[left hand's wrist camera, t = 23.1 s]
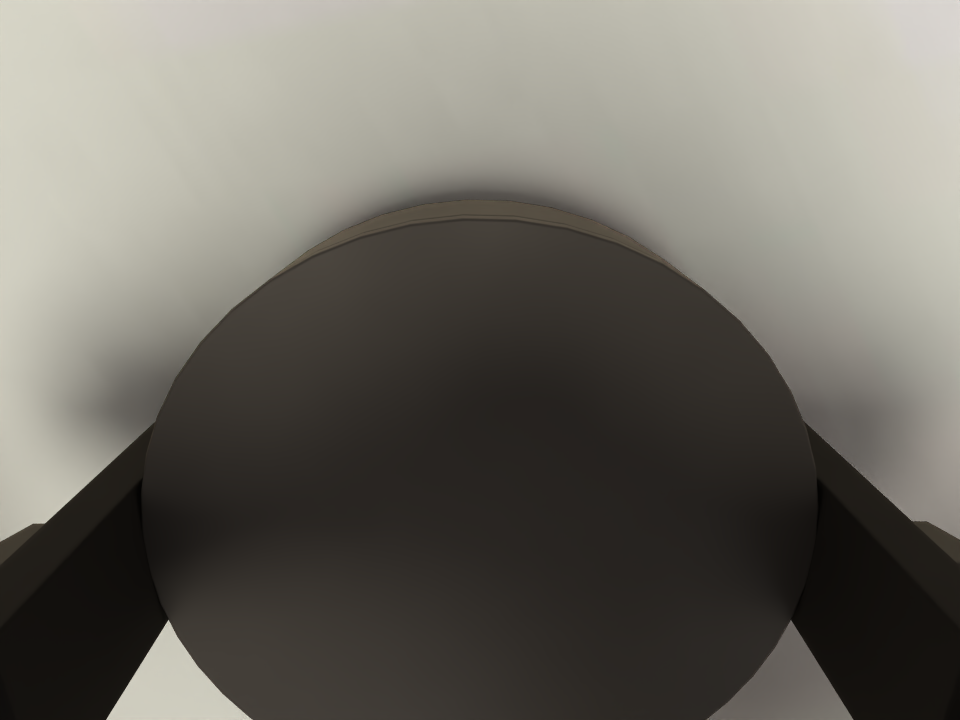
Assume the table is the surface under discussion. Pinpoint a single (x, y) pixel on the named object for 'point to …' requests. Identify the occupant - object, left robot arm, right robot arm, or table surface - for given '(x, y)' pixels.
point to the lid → (479, 481)
